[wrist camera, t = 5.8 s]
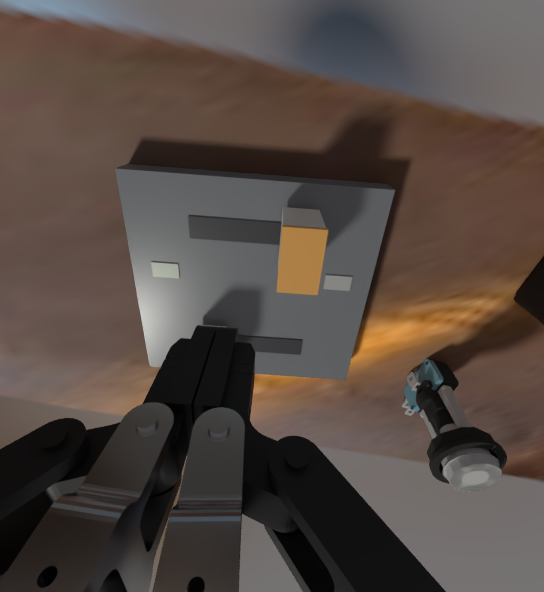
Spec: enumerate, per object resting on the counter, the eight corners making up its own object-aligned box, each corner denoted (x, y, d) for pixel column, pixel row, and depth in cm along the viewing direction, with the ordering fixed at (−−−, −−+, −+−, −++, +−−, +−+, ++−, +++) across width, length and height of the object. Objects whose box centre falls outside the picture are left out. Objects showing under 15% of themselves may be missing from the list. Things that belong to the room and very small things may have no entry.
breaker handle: (320, 209, 21) (328, 230, 17) (311, 265, 23) (317, 295, 19) (282, 206, 21) (282, 226, 17) (277, 263, 23) (276, 292, 19)
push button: (424, 408, 34) (473, 511, 25) (379, 397, 33) (413, 499, 24) (461, 364, 30) (532, 465, 22) (412, 350, 30) (465, 449, 21)
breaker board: (386, 183, 22) (421, 209, 16) (342, 364, 31) (355, 421, 25) (128, 163, 22) (75, 182, 16) (157, 351, 31) (129, 406, 25)
